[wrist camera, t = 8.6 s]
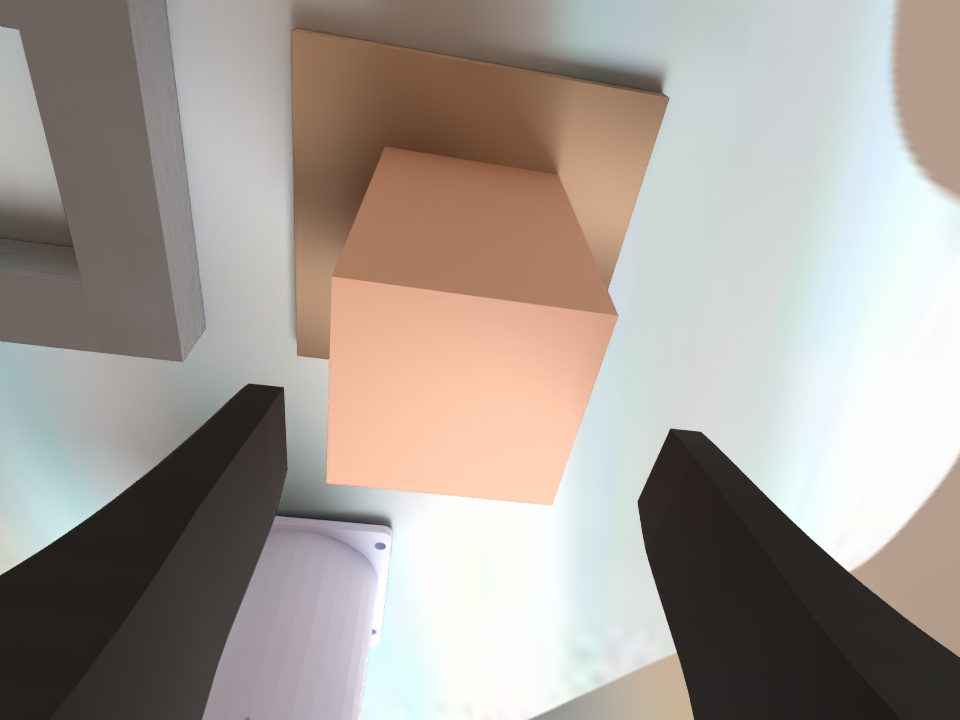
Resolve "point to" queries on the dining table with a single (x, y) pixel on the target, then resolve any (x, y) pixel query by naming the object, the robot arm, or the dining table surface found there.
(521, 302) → the terracotta block
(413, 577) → the dining table surface
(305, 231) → the walnut pad
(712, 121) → the dining table surface
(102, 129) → the square socket
